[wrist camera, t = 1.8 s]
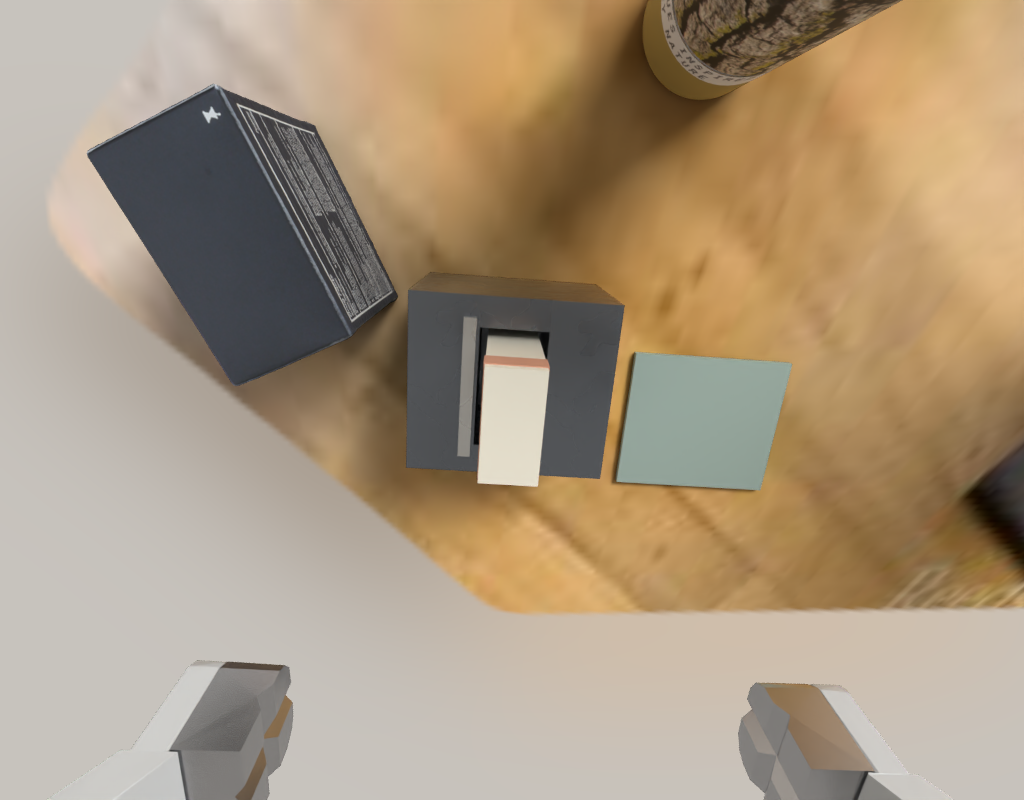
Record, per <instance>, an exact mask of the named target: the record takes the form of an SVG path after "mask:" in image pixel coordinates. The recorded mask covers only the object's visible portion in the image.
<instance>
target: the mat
mask: <svg viewBox="0 0 1024 800" xmlns="http://www.w3.org/2000/svg"><path fill="white" fill-rule="evenodd" d="M791 367H792V364H791V363H789V362H775V361H760V360H745V359H731V358H716V357H702V356H687V355H673V354H658V353H643V352H635V354H634V361H633V367H632V374H631V380H630V387H629V394H628V400H627V407H626V413H625V420H624V426H623V433H622V439H621V446H620V452H619V459H618V465H617V472H616V478H615V479H616V482H628V483H645V484H662V485H680V486H697V487H714V488H731V489H748V490H760V489H761V485H762V481H763V477H764V473H765V469H766V465H767V461H768V457H769V453H770V449H771V445H772V442H773V438H774V434H775V430H776V426H777V422H778V418H779V414H780V410H781V406H782V402H783V398H784V394H785V390H786V386H787V382H788V378H789V375H790V371H791Z"/></svg>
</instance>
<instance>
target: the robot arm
mask: <svg viewBox="0 0 1024 800" xmlns="http://www.w3.org/2000/svg"><path fill="white" fill-rule="evenodd" d="M290 683H291V679H290V670H289V667H287V666H285V665H271V664H256V663H241V662H217V661H200V660H197V661H195V662H194V663H193V664H191V665H190V666H189V667H188V668H187V669H186V670H185V672H184V673H183V675H182V676H181V678H180V679H179V680H178V682H177V683H176V685H175V686H174V688H173V689H172V691H171V692H170V694H169V695H168V696H167V698H166V699H165V701H164V702H163V704H162V705H161V707H160V708H159V709H158V711H157V712H156V714H155V715H154V717H153V718H152V719H151V721H150V722H149V724H148V725H147V727H146V728H145V729H144V731H143V732H142V734H141V735H140V737H139V738H138V740H137V741H136V743H135V744H134V746H133V747H132V748H131V750H120V751H118V752H117V753H115V754H114V755H112V756H111V757H109V758H108V759H106V760H105V761H103V762H102V763H100V764H99V765H97V766H96V767H94V768H93V769H91V770H90V771H89V772H87V773H85V774H84V775H82V776H81V777H80V778H78V779H77V780H75V781H74V782H72V783H71V784H69V785H68V786H66V787H65V788H63V789H62V790H60V791H59V792H57V793H56V794H54V795H53V796H51V797H50V798H48V799H47V800H267V798H268V796H269V783H268V776H269V775H270V774H272V773H273V772H274V771H275V770H276V769H277V768H278V767H280V765H281V763H282V760H283V758H284V755H285V752H286V750H287V747H288V743H289V738H290V734H291V730H292V722H293V703H292V701H291V700H290V699H289V698H288V697H287V696H286V692H287V690H288V688H289V685H290ZM747 700H748V702H749V704H750V706H751V708H752V710H751V711H750V712H748V713H747V714H746V715H745V716H744V717H743V718H742V719H741V724H740V728H739V732H738V736H739V750H740V754H741V757H742V761H743V765H744V767H745V769H746V772H747V774H748V776H749V778H750V780H751V781H752V782H753V783H754V784H755V785H756V786H758V787H759V788H760V789H761V790H762V791H763V792H764V793H765V796H764V800H953V799H952V798H951V797H949V796H948V795H947V794H945V793H944V792H942V791H940V789H938V788H937V787H935V786H934V785H932V784H931V783H930V782H928V781H927V780H925V779H924V778H922V777H921V776H920V775H917V774H909V773H908V772H907V770H906V769H905V767H904V766H903V765H902V763H901V762H900V761H899V759H898V758H897V757H896V755H895V754H894V753H893V751H892V750H891V749H890V747H889V746H888V745H887V743H886V742H885V741H884V739H883V738H882V737H881V735H880V734H879V732H878V731H877V730H876V728H875V727H874V726H873V724H872V723H871V722H870V720H869V719H868V718H867V717H866V715H865V714H864V712H863V711H862V710H861V708H860V707H859V706H858V704H857V703H856V702H855V700H854V699H853V697H852V696H851V695H850V694H849V692H848V691H847V690H846V689H844V688H843V687H841V686H840V685H815V684H812V685H808V684H785V683H782V684H781V683H755V684H754V685H753V686H752V687H751V688H750V691H749V695H748V698H747Z"/></svg>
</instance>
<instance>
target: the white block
mask: <svg viewBox="0 0 1024 800" xmlns="http://www.w3.org/2000/svg"><path fill="white" fill-rule="evenodd" d="M549 371H550V366H549V363H548V360H547V359H545V355H544V352H543V349H542V346H541V342H540V339H539V336H538V333H537V331H525V330H510V329H496V328H489V331H488V340H487V349H486V355H484V365H483V382H482V399H481V416H480V433H479V450H478V467H477V480H478V483H483V484H500V485H518V486H535V487H538V480H539V470H540V460H541V450H542V440H543V430H544V420H545V411H546V401H547V391H548V381H549Z"/></svg>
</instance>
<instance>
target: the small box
mask: <svg viewBox="0 0 1024 800" xmlns="http://www.w3.org/2000/svg"><path fill="white" fill-rule="evenodd" d="M87 156H88V158H89V159H90V161H91V162H92V164H93V165H94V167H95V169H96V170H97V172H98V173H99V175H100V176H101V178H102V180H103V181H104V183H105V184H106V186H107V187H108V189H109V191H110V192H111V194H112V196H113V197H114V199H115V200H116V202H117V203H118V205H119V206H120V208H121V209H122V211H123V213H124V214H125V216H126V217H127V219H128V220H129V222H130V223H131V225H132V227H133V228H134V230H135V231H136V233H137V234H138V236H139V237H140V239H141V241H142V242H143V244H144V245H145V247H146V248H147V250H148V252H149V253H150V255H151V256H152V258H153V259H154V261H155V263H156V264H157V266H158V267H159V269H160V270H161V272H162V274H163V275H164V277H165V278H166V280H167V281H168V283H169V284H170V286H171V288H172V289H173V291H174V292H175V294H176V296H177V297H178V299H179V300H180V302H181V304H182V305H183V307H184V308H185V310H186V311H187V313H188V315H189V316H190V318H191V319H192V321H193V322H194V324H195V326H196V327H197V329H198V330H199V332H200V333H201V335H202V337H203V338H204V340H205V341H206V343H207V345H208V346H209V348H210V349H211V351H212V353H213V354H214V356H215V357H216V359H217V360H218V362H219V364H220V365H221V367H222V368H223V370H224V372H225V373H226V375H227V376H228V378H229V380H230V381H231V383H232V384H233V385H235V386H238V385H241V384H244V383H247V382H249V381H252V380H254V379H257V378H259V377H261V376H264V375H266V374H268V373H271V372H273V371H275V370H278V369H280V368H283V367H285V366H287V365H289V364H291V363H294V362H296V361H298V360H301V359H303V358H305V357H307V356H310V355H312V354H314V353H317V352H319V351H321V350H323V349H325V348H328V347H330V346H332V345H334V344H336V343H339V342H341V341H344V340H346V339H348V338H349V337H351V336H352V335H353V334H354V333H355V332H356V330H357V329H358V328H360V327H361V325H362V324H364V323H365V322H366V321H368V320H369V319H371V318H372V317H373V316H374V315H375V314H377V313H378V312H379V311H380V310H382V309H383V308H384V307H385V306H387V305H388V304H389V303H391V302H393V301H395V300H396V299H397V297H398V295H397V293H396V291H395V289H394V287H393V285H392V283H391V281H390V279H389V276H388V274H387V272H386V270H385V268H384V266H383V264H382V262H381V260H380V258H379V256H378V254H377V252H376V250H375V248H374V245H373V243H372V241H371V240H370V238H369V235H368V233H367V231H366V229H365V227H364V225H363V223H362V221H361V219H360V217H359V215H358V213H357V211H356V209H355V207H354V205H353V203H352V200H351V197H350V196H349V194H348V192H347V190H346V188H345V186H344V184H343V182H342V180H341V178H340V176H339V174H338V171H337V170H336V168H335V166H334V164H333V162H332V160H331V158H330V156H329V154H328V152H327V150H326V148H325V146H324V144H323V142H322V140H321V138H320V136H319V134H318V132H317V130H316V127H315V126H314V125H312V124H310V123H308V122H305V121H300V120H297V119H294V118H292V117H290V116H287V115H285V114H282V113H279V112H278V111H275V110H273V109H271V108H269V107H266V106H264V105H261V104H259V103H257V102H254V101H252V100H249V99H247V98H244V97H241V96H239V95H237V94H235V93H232V92H230V91H227V90H225V89H223V88H222V87H220V86H218V85H215V84H212V85H210V86H208V87H207V88H205V89H203V90H201V91H200V92H198V93H195V94H194V95H193V96H191V97H189V98H187V99H185V100H183V101H181V102H179V103H177V104H175V105H173V106H171V107H169V108H167V109H165V110H163V111H162V112H160V113H158V114H156V115H154V116H153V117H151V118H149V119H147V120H145V121H142V122H140V123H139V124H137V125H135V126H133V127H131V128H130V129H127V130H125V131H124V132H122V133H120V134H118V135H116V136H114V137H112V138H110V139H108V140H106V141H105V142H103V143H101V144H98V145H97V146H95V147H94V148H91V149H90V150H88V152H87Z"/></svg>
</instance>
